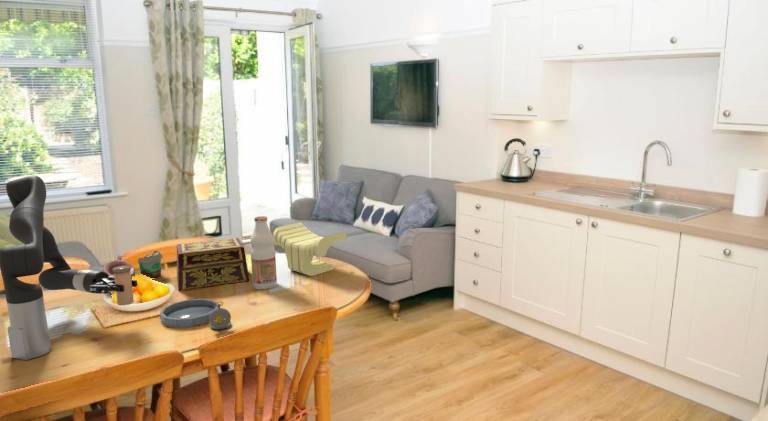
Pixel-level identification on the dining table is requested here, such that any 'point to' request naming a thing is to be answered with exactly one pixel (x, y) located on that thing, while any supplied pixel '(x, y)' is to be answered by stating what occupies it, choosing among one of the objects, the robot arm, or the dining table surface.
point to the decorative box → (211, 264)
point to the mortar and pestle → (112, 264)
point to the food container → (151, 265)
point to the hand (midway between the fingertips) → (129, 286)
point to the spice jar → (124, 284)
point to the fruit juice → (263, 255)
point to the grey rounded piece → (220, 318)
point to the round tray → (187, 313)
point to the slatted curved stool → (304, 248)
